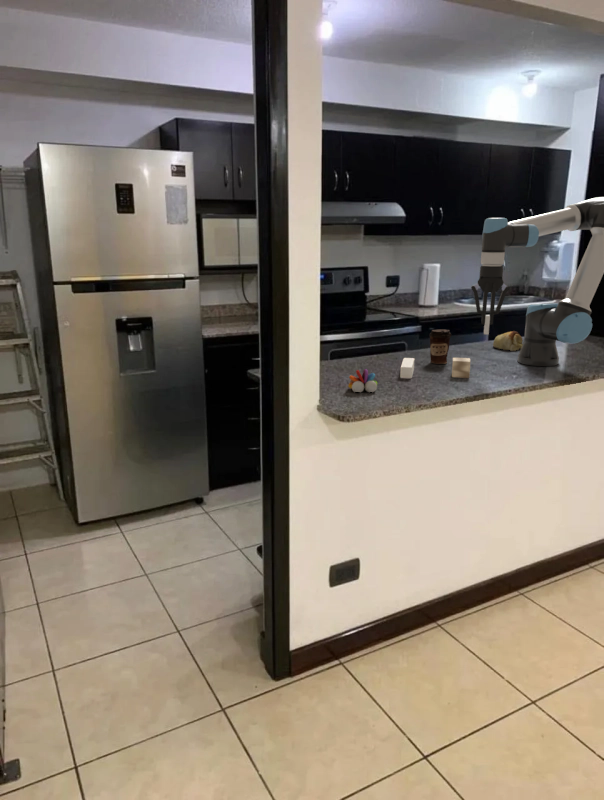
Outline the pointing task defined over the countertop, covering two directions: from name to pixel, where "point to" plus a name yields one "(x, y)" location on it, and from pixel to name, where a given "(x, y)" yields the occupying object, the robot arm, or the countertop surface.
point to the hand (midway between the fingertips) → (486, 333)
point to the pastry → (508, 341)
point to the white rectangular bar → (407, 368)
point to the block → (461, 367)
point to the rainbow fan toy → (363, 382)
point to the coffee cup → (439, 346)
